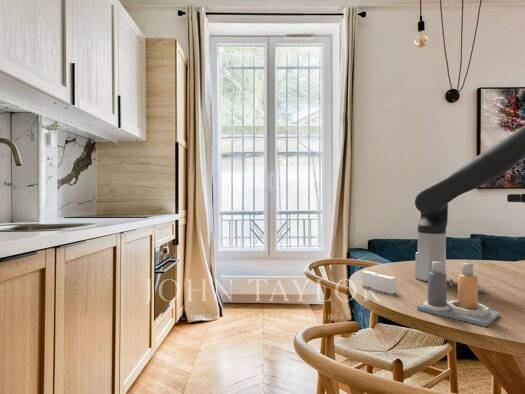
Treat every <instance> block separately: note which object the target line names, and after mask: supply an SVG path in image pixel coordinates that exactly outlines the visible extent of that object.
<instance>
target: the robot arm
mask: <svg viewBox="0 0 525 394" xmlns="http://www.w3.org/2000/svg"><path fill="white" fill-rule="evenodd" d="M524 156H525V124H524V125H522V127H520V128H519V129H517V130H516V131H514V132H513V133H511V134H510V135H508V136H507V137H505V138H504V139H502V140H501V141H499V142H497V143H496V144H494V145H493V146H492V147H490V148H488V149H486V150H485V151H483V152H482V153H480V154H479V155H477V156H475V157H474V158H472V159H471V160H470V161H468V162H467V163H465V164H464V165H462V166H461V167H459V168H458V169H457V170H455V171H454V172H453V173H451V174H450V175H448V176H447V177H445V178H444V179H442V180H439V181H438V182H436V183H434V184H432V185H431V186H428V187H427V188H424V189H422V190H421V191H420V192H418V193H417V194H416V197H415V200H414V205H415V206H414V207H416V209H417V210H418V211H419V212H420V219H419V223H418V224H417V252H415V256H414V257H415V271H414V272H415V277H414V278H415V279H418V280H421V281H425V282H428V272H432V261H439V262H442V273H446V272H447V227H448V226H447V225H448V219H449V218H448V217H449V213H448V212H449V210H448V209H449V203H450V202H451V201H453V200H454V199H455V198H456V199H457V197H459V196H461V195H463V194H466V193H467V192H470V191H473V190H475V189H478V188H480V187H483V186H485V185H487V184H488V183H491V182H493V181H494V180H496V179H498V178H500V177H501V176H503V175H505V174H506V173H508V172H509V171H510V170H511V169H512V168H513V167H515V166H516V164H518V162H519V161H520V160H521V159H522V158H523V157H524ZM506 202H508V203H524V204H525V193H509V194H507V195H506ZM446 274H447V273H446Z"/></svg>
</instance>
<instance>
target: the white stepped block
mask: <svg viewBox="0 0 525 394" xmlns="http://www.w3.org/2000/svg"><path fill="white" fill-rule="evenodd" d="M396 279H397V278H396V277H394V276H391V275H385V274H380V273H378V272H374V271H369V270H364V271H361V286H362V287H364V286H367V287H366V288H368V287H371V288H370V289H371V290H372V289H375V290H374V291H376V290H378V291H377V292H380V291H382V293H384V292H386V293H385V294H388V293H390V294H389V295H394V294H396V288H397V286H396V285H397V282H396V281H397V280H396ZM393 293H394V294H393Z"/></svg>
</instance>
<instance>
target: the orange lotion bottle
mask: <svg viewBox="0 0 525 394" xmlns="http://www.w3.org/2000/svg"><path fill="white" fill-rule="evenodd" d="M461 266H462V269H461V271H462V272H461V273H458V274H457V283H458V285H457V300H458V307H459V308H463V309H468V310H478V303H479V292H478V289H479V287H478V285H479V276H478V275H477V274H474V263H471V262H463V263H462V265H461Z"/></svg>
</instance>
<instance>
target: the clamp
mask: <svg viewBox="0 0 525 394" xmlns="http://www.w3.org/2000/svg"><path fill="white" fill-rule="evenodd" d="M448 283H449V286H450V287H453V286H458V282H456V281H455V282H454V280H453V279H452V278H450V279H449V282H448ZM486 293H487V290H486V289H483V288H480V285H479V284H478V294H484V295H485V294H486Z"/></svg>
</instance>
